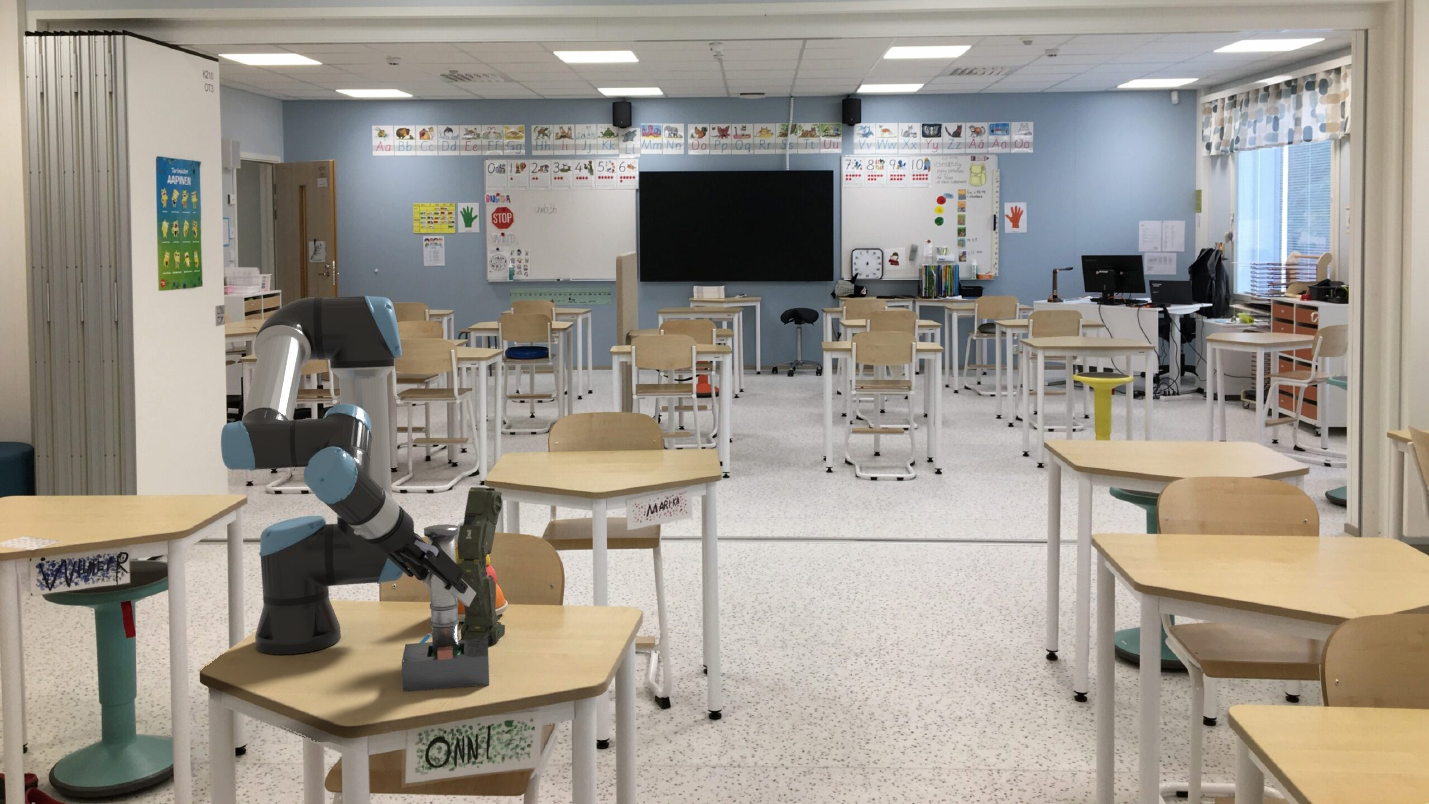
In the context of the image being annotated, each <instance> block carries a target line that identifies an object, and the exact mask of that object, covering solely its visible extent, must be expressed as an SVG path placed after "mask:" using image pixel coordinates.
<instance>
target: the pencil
mask: <svg viewBox="0 0 1429 804" xmlns="http://www.w3.org/2000/svg"><path fill="white" fill-rule="evenodd" d="M431 637H432V631H430V632H428V633H427V634H426V635H425V636H424V637H423V638H422V639H421V640H420V642H419V643H426V642H428V640H429V639H430V638H431Z"/></svg>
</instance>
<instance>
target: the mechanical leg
mask: <svg viewBox="0 0 1429 804" xmlns="http://www.w3.org/2000/svg"><path fill="white" fill-rule="evenodd" d="M502 498H503V497H502V492H501V491H498V490H496V487H479V486H478V487H477V486H475V487H474V486H472V487H470V488H469V490H468V493H467V499H466V504H465V511H464V518H463V521H464V524H463V525H462V526H460V530H459V536H458V542H457V541H456V543H457V547H458V561H457V565H458V566H459V567H460V568H461V569H462V570H463V571H464V572H465V573H464V575H463V577H462V579H463V580H464V581H465V582H466V583H467V584H468V585H469V586H470V587H471V588H472V589H473V590H474V591H475V592H476V595H475V597H474V598H473V600H472V602H471V604H470V606H469V607H468V606H465V605H464V607H465V622H463V623H462V625H461V628H460V638H459V640H467V639H480V638H488V648H490V647H491V646H492V645H494V644H496V643H498V642H499V641H500V639H501V637H502V636H503V635H505V633H506V625H505V624H502V622H501V621H499V616H497V614H496V611H495V606H496V584H495V582H494V578H493V577H492V576H491V575H489V577H486V576H487V572H486V557H487V554H488V555H490V554H492V551H493V549H492V548H493V545H494V539H495V535H496V529H497V524H498V519H499V515H500V513H501V511H502V508H503V500H502ZM463 559H464V560H463ZM489 646H490V647H489Z"/></svg>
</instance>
